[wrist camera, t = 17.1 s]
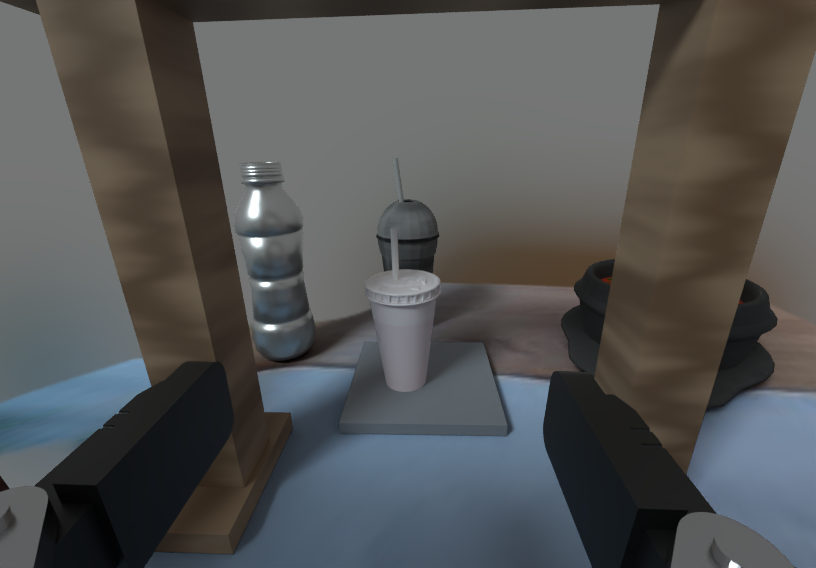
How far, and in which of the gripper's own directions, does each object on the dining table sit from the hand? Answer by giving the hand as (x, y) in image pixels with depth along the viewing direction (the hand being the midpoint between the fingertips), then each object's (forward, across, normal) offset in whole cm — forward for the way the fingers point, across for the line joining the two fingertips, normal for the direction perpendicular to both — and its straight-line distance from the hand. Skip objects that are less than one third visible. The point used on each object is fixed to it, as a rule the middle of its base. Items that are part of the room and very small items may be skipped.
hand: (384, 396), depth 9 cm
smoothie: (+22, 0, +15) cm, 26 cm away
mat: (+22, -1, +16) cm, 27 cm away
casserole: (+29, -26, +15) cm, 41 cm away
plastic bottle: (+28, +14, +16) cm, 35 cm away
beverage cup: (+35, +1, +16) cm, 38 cm away
